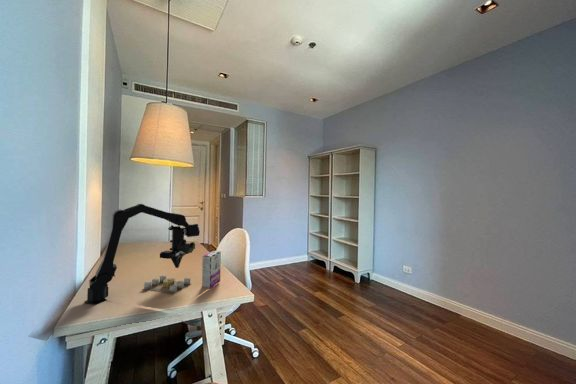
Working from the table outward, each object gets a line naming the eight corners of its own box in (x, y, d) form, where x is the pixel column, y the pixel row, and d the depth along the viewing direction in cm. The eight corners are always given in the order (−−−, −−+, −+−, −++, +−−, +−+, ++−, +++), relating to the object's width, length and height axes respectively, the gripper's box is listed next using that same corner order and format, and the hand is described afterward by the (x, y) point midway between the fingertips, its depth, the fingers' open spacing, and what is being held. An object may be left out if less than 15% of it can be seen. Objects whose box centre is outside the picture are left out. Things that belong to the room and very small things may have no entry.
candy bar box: (212, 280, 129) (212, 250, 129) (220, 281, 128) (221, 251, 128) (201, 288, 118) (202, 255, 118) (210, 289, 117) (211, 256, 117)
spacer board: (162, 302, 102) (162, 293, 102) (129, 296, 106) (129, 288, 106) (192, 285, 121) (192, 277, 121) (163, 281, 125) (163, 274, 125)
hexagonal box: (170, 288, 114) (170, 282, 114) (160, 287, 116) (160, 281, 116) (177, 284, 119) (177, 278, 119) (168, 283, 120) (168, 277, 120)
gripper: (178, 242, 112) (177, 275, 112) (202, 236, 130) (201, 264, 130) (159, 240, 115) (158, 272, 114) (185, 234, 133) (184, 262, 132)
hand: (177, 267), depth 123 cm, fingers closed
